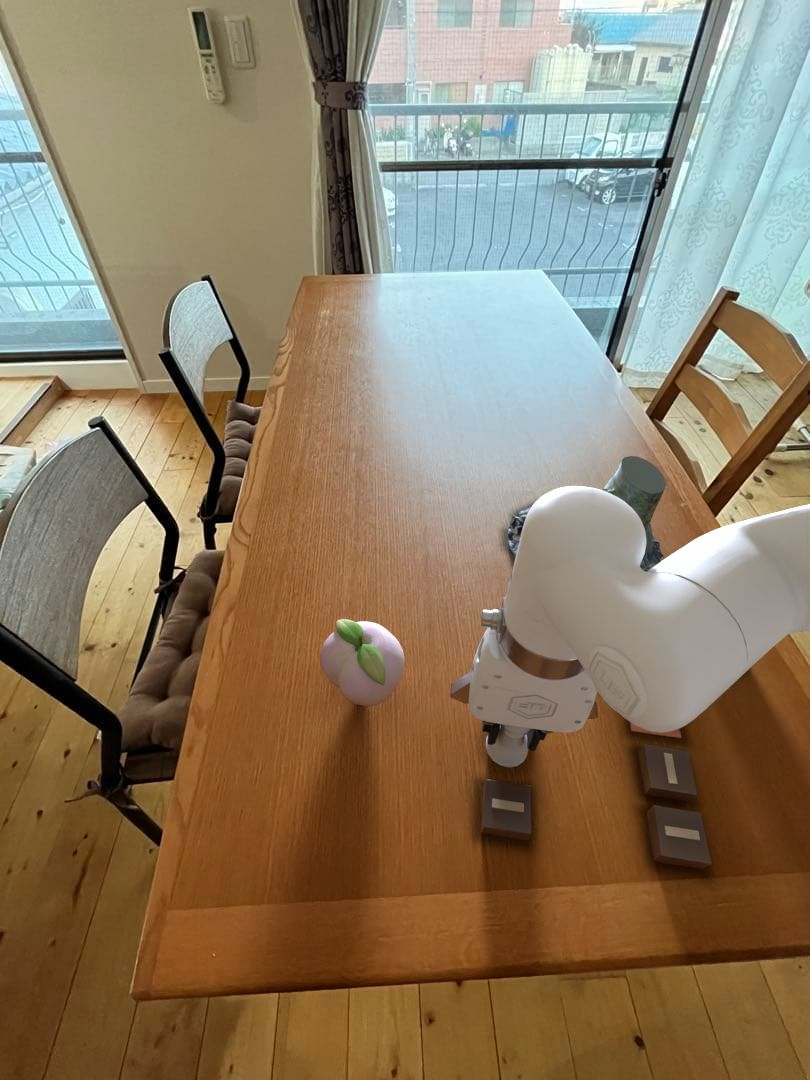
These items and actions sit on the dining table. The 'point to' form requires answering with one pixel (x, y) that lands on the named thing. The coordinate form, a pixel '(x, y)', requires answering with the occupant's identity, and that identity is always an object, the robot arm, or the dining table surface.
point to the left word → (506, 810)
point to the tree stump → (633, 486)
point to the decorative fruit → (362, 661)
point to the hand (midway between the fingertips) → (511, 732)
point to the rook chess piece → (509, 746)
